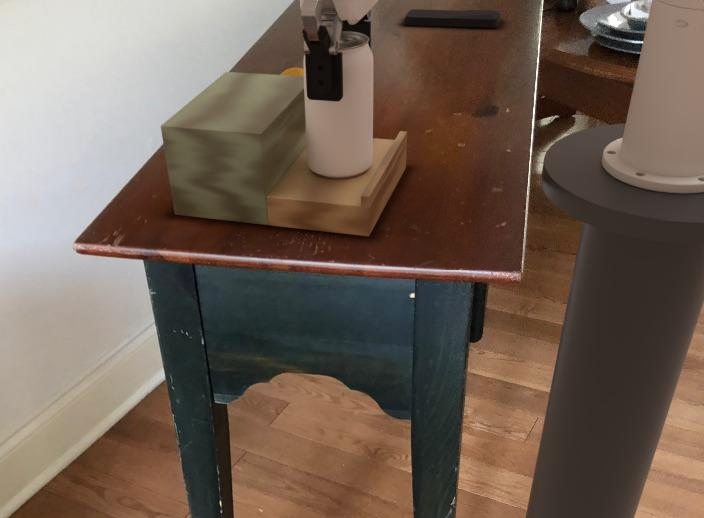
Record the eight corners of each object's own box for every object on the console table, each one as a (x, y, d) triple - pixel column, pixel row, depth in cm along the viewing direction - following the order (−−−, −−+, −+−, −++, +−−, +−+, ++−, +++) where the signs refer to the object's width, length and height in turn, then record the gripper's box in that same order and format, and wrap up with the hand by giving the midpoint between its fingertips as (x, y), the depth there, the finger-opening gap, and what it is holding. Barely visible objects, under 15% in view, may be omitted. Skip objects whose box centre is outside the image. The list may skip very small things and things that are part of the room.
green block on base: (406, 167, 86) (409, 82, 80) (368, 236, 74) (369, 142, 68) (234, 152, 91) (225, 71, 85) (174, 215, 79) (160, 125, 74)
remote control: (403, 28, 129) (497, 28, 125) (403, 17, 128) (498, 16, 124) (409, 20, 132) (501, 19, 128) (409, 9, 131) (501, 7, 127)
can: (294, 167, 80) (287, 41, 72) (340, 148, 83) (338, 25, 75) (339, 186, 76) (337, 54, 68) (385, 165, 79) (388, 37, 71)
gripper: (352, -125, 56) (354, 117, 67) (405, -153, 69) (400, 55, 79) (253, -124, 58) (271, 111, 69) (322, -151, 71) (328, 52, 81)
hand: (340, 81), depth 74 cm, fingers open, 9 cm apart
